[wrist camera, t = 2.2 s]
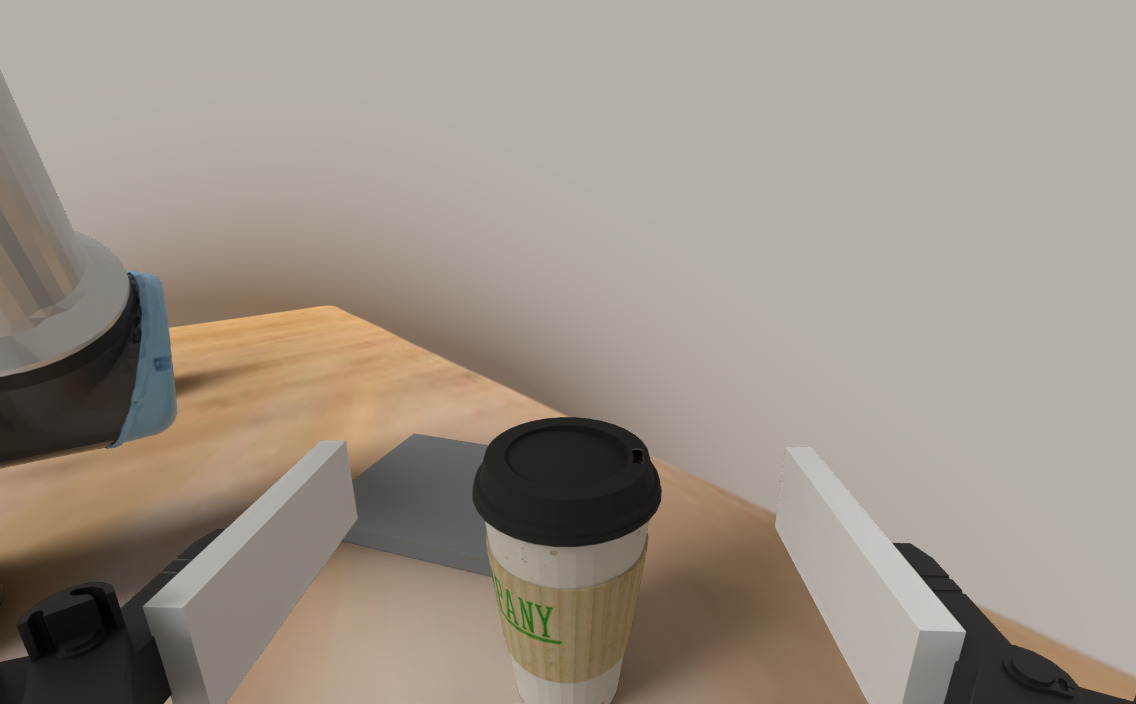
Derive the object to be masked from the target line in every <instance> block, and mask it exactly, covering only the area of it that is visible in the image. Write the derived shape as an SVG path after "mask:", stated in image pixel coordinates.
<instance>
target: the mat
mask: <svg viewBox="0 0 1136 704" xmlns="http://www.w3.org/2000/svg"><path fill="white" fill-rule="evenodd" d="M487 447H488V445H482V444H476V443H469V442H463V441H457V440H451V439H445V438H438V437H432V436H426V435H420V434H413V435H412V436H410V437H409V438H408V439H406V440H405V441H404V442H402V443H401V444H400V445H399V446H397V447H396V448H395V449H393V450H392V451H391V452H389V453H388V454H387V455H386V456H384V457H383V458H382V459H380V460H379V461H378V462H376V463H375V464H374V465H373V466H371V467H370V468H369V469H367V470H366V471H365V472H363V473H362V474H361V475H360V476H358V477H357V478H356V479H354V480H353V481H352V484H353V490H354V497H355V503H356V510H357V517H358V519H357V520H356V521H355V523H354V524H353V526H352V527H351V528H350V530H349V531H348V533H347V534H346V535H345V537H344V538H343V540H342V541H345V542H349V543H353V544H357V545H362V546H366V547H370V548H374V549H378V550H382V551H387V552H391V553H395V554H399V555H403V556H407V557H412V558H416V559H420V560H424V561H428V562H432V563H437V564H441V565H445V566H449V567H453V568H457V569H462V570H466V571H470V572H474V573H478V574H483V575H487V576H491V577H493V576H492V571H491V566H490V561H489V556H488V551H487V545H486V534H487V529H486V524H485V521H484V519H483V518H482V517H481V516H480V515H479V513H478V512H477V510H476V508H475V505H474V503H473V497H472V489H473V485H474V479H475V476H476V472H477V470H478V468H479V466H480V465H481V464H482V462H483V459H484V455H485V452H486V449H487Z"/></svg>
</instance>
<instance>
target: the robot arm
mask: <svg viewBox="0 0 1136 704" xmlns="http://www.w3.org/2000/svg"><path fill="white" fill-rule="evenodd" d="M171 358H172V355H171V347H170V336H169V327H168V320H167V313H166V305H165V298H164V292H163V286H162V282H161V281H160V279H159V278H158V277H157V276H155V275H153V274H149V273H140V272H137V271H127V272H126V270H125V269H124V267H123V265H122V264H121V262H120V260H119V258H118V257H117V256H116V255H115V254H114V253H113V252H112V251H111V250H110V249H109V248H107V247H106V246H104V245H103V244H102V243H100V242H98V241H96V240H94V239H93V238H91V237H89V236H87V235H84V234H82V233H79V232H77V231H74V230H73V228H72V226H71V224H70V222H69V219H68V217H67V215H66V213H65V211H64V208H63V206H62V204H61V202H60V200H59V197H58V195H57V193H56V191H55V189H54V186H53V184H52V182H51V180H50V178H49V176H48V173H47V171H46V169H45V167H44V165H43V163H42V160H41V158H40V156H39V154H38V152H37V149H36V147H35V145H34V143H33V141H32V138H31V136H30V134H29V132H28V130H27V128H26V125H25V123H24V121H23V119H22V117H21V115H20V112H19V111H18V108H17V106H16V103H15V101H14V99H13V97H12V95H11V93H10V90H9V88H8V86H7V84H6V82H5V80H4V77H3V75H2V73H1V71H0V469H1V468H5V467H10V466H15V465H20V464H25V463H29V462H34V461H40V460H45V459H50V458H55V457H60V456H65V455H70V454H75V453H80V452H85V451H90V450H96V449H101V448H107V449H108V448H115V447H118V446H120V445H122V444H123V443H125V442H129V441H133V440H137V439H141V438H145V437H149V436H153V435H156V434H159V433H161V432H163V431H165V430H166V429H168V428H169V427H170V426H171V425H172V423H173V422H174V420H175V418H176V415H177V400H176V389H175V380H174V372H173V364H172V359H171ZM357 519H358V517H357V510H356V503H355V497H354V490H353V484H352V477H351V470H350V464H349V457H348V451H347V444H346V441H342V440H321V441H320V442H319V443H318V444H317V445H316V446H315V447H314V448H313V449H311V450H310V451H309V452H308V453H307V454H306V455H305V456H304V457H303V458H302V459H301V460H300V461H299V462H297V463H296V464H295V465H294V466H293V467H292V468H291V469H290V470H289V471H288V472H287V473H286V474H285V475H283V476H282V477H281V478H280V479H279V480H278V481H277V482H276V483H275V484H274V485H273V486H272V487H271V488H270V489H268V490H267V491H266V492H265V493H264V494H263V495H262V496H261V497H260V498H259V499H258V500H257V501H256V502H254V503H253V504H252V505H251V506H250V507H249V508H248V509H247V510H246V511H245V512H244V513H243V514H242V515H241V516H239V517H238V518H237V519H236V520H235V521H234V522H233V523H232V524H231V525H230V526H229V527H228V528H227V529H217V530H215V531H214V532H212V533H210V534H208V535H207V536H205V537H203V538H201V539H200V540H198V541H196V542H195V543H193V544H192V545H191V546H190V547H189V548H188V549H187V550H186V551H184V552H183V553H182V554H181V555H180V556H179V557H178V559H177V561H173V562H172V563H171V564H170V565H169V566H168V567H166V568H165V569H164V570H163V573H162V574H159V575H158V576H156V577H155V578H154V579H153V580H152V581H151V582H150V583H149V584H147V585H146V586H145V587H144V588H143V589H142V590H141V591H140V592H138V593H137V594H136V595H135V596H134V597H133V598H132V599H131V600H129V601H128V602H127V603H126V604H125V605H124V606H123V607H122V608H120V606H119V603H118V600H117V597H116V594H115V591H114V589H113V587H112V585H111V584H108V583H105V582H92V583H85V584H81V585H78V586H74V587H70V588H68V589H66V590H63V591H61V592H58V593H56V594H53V595H52V596H50V597H48V598H47V599H45V600H43V601H41V602H40V603H38V604H36V605H35V606H34V607H33V608H32V609H30V610H29V611H28V612H27V613H26V614H24V615H23V617H22V618H21V620H20V621H19V623H18V624H17V628H18V630H19V633H20V635H21V638H22V640H23V643H24V645H25V647H26V650H27V652H28V655H29V656H26V657H22V658H17V659H12V660H7V661H3V662H0V704H164V703H165V701H166V700H167V699H168V698H169V697H170V695H171V699H172V702H173V704H226V703H227V701H228V700H229V698H230V697H231V695H232V694H233V693H234V691H235V690H236V688H237V687H238V686H239V684H240V683H241V681H242V680H243V679H244V677H245V676H246V674H247V673H248V672H249V670H250V669H251V667H252V666H253V665H254V663H255V662H256V660H257V659H258V658H259V656H260V655H261V653H262V652H263V651H264V649H265V648H266V646H267V645H268V644H269V642H270V641H271V639H272V638H273V637H274V635H275V634H276V632H277V631H278V630H279V628H280V627H281V625H282V624H283V622H284V621H285V620H286V618H287V617H288V615H289V614H290V613H291V611H292V610H293V608H294V607H295V606H296V604H297V603H298V601H299V600H300V599H301V597H302V596H303V594H304V593H305V592H306V590H307V589H308V587H309V586H310V585H311V583H312V582H313V580H314V579H315V578H316V576H317V575H318V573H319V572H320V571H321V569H322V568H323V566H324V565H325V564H326V562H327V561H328V559H329V558H330V557H331V555H332V554H333V552H334V551H335V549H336V548H337V547H338V545H339V544H340V542H341V541H342V540H343V538H344V537H345V535H346V534H347V533H348V531H349V530H350V528H351V527H352V526H353V524H354V523H355V521H356V520H357ZM775 528H776V530H777V532H778V534H779V536H780V538H781V540H782V542H783V543H784V545H785V547H786V549H787V551H788V553H789V555H790V557H791V559H792V560H793V562H794V564H795V566H796V568H797V570H798V572H799V574H800V576H801V577H802V579H803V581H804V583H805V585H806V587H807V589H808V591H809V593H810V594H811V596H812V598H813V600H814V602H815V604H816V606H817V608H818V610H819V611H820V613H821V615H822V617H823V619H824V621H825V623H826V625H827V627H828V628H829V630H830V632H831V634H832V636H833V638H834V640H835V642H836V644H837V645H838V647H839V649H840V651H841V653H842V655H843V657H844V659H845V660H846V662H847V664H848V666H849V668H850V670H851V672H852V674H853V676H854V677H855V679H856V681H857V683H858V685H859V687H860V689H861V691H862V693H863V694H864V696H865V698H866V700H867V702H868V704H1136V696H1135V699H1134V701H1129V700H1125V699H1121V698H1118V697H1114V696H1110V695H1107V694H1103V693H1099V692H1095V691H1092V690H1088V689H1084V688H1081V687H1079V686H1078V685H1077V684H1076V683H1075V682H1074V680H1073V679H1072V678H1071V677H1070V676H1069V675H1068V674H1067V673H1066V672H1065V671H1063V670H1062V669H1061V668H1060V667H1058V666H1057V665H1056V664H1054V663H1053V662H1052V661H1050V660H1048V659H1046V658H1044V657H1043V656H1041V655H1039V654H1037V653H1035V652H1033V651H1030V650H1027V649H1024V648H1021V647H1018V646H1016V645H1011V644H1010V642H1009V641H1008V640H1007V639H1006V638H1005V637H1004V636H1003V635H1002V634H1001V633H1000V631H999V630H998V629H997V628H996V627H995V626H994V625H993V624H992V623H991V622H990V620H989V619H988V618H987V617H986V616H985V615H984V614H983V613H982V612H981V611H980V610H979V608H978V607H977V606H976V605H975V604H974V603H973V602H972V601H971V600H970V599H969V597H968V596H967V595H966V594H963V593H962V590H961V589H960V588H959V586H958V585H956V583H955V582H954V581H953V580H952V579H949V575H948V574H947V573H946V572H945V571H944V570H943V569H942V568H941V567H940V566H939V564H938V563H937V562H936V561H935V560H934V559H933V558H931V557H930V556H928V555H927V554H926V553H924V552H923V551H921V550H920V549H918V548H916V547H915V546H913V545H912V544H910V543H892V542H891V541H890V540H889V539H888V538H887V536H886V535H885V534H884V533H883V532H882V530H881V529H880V528H879V527H878V526H877V524H876V523H875V522H874V521H873V520H872V518H871V517H870V516H869V515H868V514H867V512H866V511H865V510H864V509H863V508H862V507H861V505H860V504H859V503H858V502H857V500H856V499H855V498H854V497H853V496H852V495H851V493H850V492H849V491H848V490H847V489H846V487H845V486H844V485H843V484H842V483H841V481H840V480H839V479H838V478H837V477H836V476H835V474H834V473H833V472H832V471H831V469H830V468H829V467H828V466H827V465H826V463H825V462H824V461H823V460H822V459H821V457H820V456H819V455H818V454H817V453H816V452H815V450H814V449H813V448H812V447H785V453H784V461H783V469H782V477H781V484H780V492H779V499H778V508H777V515H776V523H775ZM2 598H3V587H2V584H1V582H0V604H1V601H2Z"/></svg>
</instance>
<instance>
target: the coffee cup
mask: <svg viewBox="0 0 1136 704" xmlns="http://www.w3.org/2000/svg"><path fill="white" fill-rule="evenodd" d="M641 462H642V463H641ZM661 492H662V490H661V485H660V479H659V476H658V473H657V470H656V468H655V467H654V465H653V464H652V462H651V460H650V456H649V453H648V449H647V447H646V446H645V445H644V443H643V442H642V441H641V440H640V439H639V438H638V437H636V435H634V434H632V433H631V432H629V431H627V430H626V429H624V428H621V427H619V426H616V425H614V424H610V423H607V422H603V421H599V420H592V419H586V418H575V417H559V418H547V419H541V420H535V421H531V422H527V423H524V424H520V425H518V426H515V427H513V428H511V429H508V430H507V431H505V432H503V433H502V434H500V435H499V436H497V437H496V438H495V439H494V440H493V441H492V442H491V443H490V444H489V446H488V447H487V449H486V452H485V455H484V459H483V462H482V464H481V465H480V466H479V468H478V470H477V472H476V476H475V479H474V485H473V489H472V497H473V503H474V505H475V508H476V510H477V512H478V513H479V515H480V516H481V517H482V518H483V519H484V521H485V524H486V529H487V534H486V545H487V551H488V556H489V561H490V566H491V571H492V576H493V581H494V586H495V591H496V596H497V601H498V606H499V611H500V616H501V621H502V626H503V631H504V636H505V641H506V644H507V647H508V650H509V652H510V653H511V658H512V663H513V668H514V674H515V679H516V684H517V688H518V691H519V694H520V697H521V698H522V700H523V701H524V703H525V704H610V703H611V701H612V699H613V698H614V696H615V693H616V691H617V688H618V683H619V677H620V672H621V667H622V661H623V656H624V653H625V651H626V648H627V645H628V643H629V638H630V633H631V628H632V623H633V618H634V613H635V608H636V602H637V597H638V592H639V587H640V582H641V577H642V572H643V567H644V562H645V557H646V551H647V545H648V534H647V528H648V523H649V520H650V519H651V517H652V516H653V515H654V514H655V513H656V511H657V509H658V507H659V504H660V502H661Z"/></svg>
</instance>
